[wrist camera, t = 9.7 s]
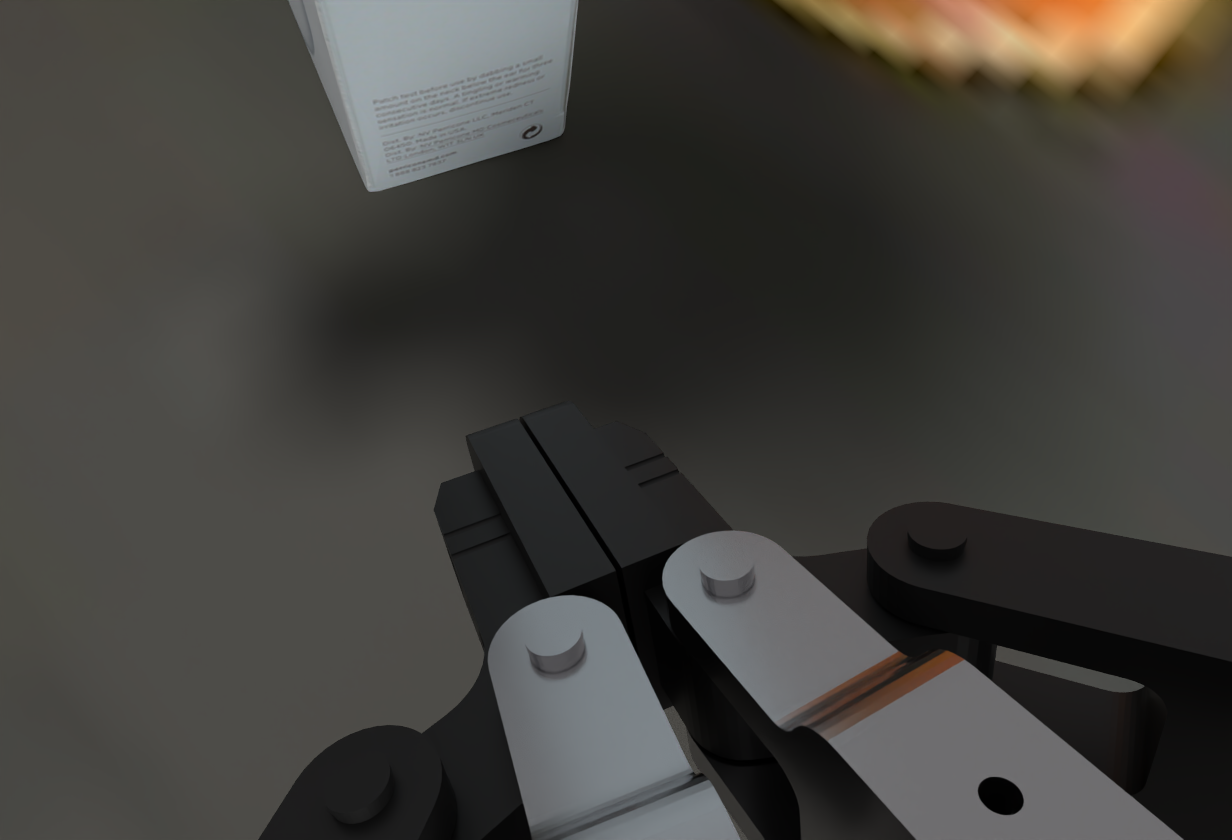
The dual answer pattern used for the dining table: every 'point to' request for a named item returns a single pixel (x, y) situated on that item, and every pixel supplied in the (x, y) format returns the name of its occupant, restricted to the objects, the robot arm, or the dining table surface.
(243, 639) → the dining table surface
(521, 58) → the skincare box
